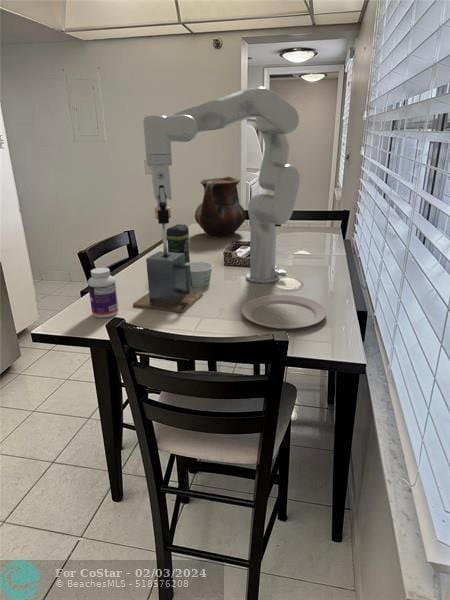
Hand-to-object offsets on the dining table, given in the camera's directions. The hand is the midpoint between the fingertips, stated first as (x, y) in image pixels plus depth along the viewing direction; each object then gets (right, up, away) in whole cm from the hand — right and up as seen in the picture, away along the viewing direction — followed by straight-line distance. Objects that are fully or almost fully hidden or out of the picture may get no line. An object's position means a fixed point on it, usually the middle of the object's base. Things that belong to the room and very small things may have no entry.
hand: (163, 221), depth 133 cm
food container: (+9, -18, +27) cm, 34 cm away
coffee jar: (+1, -13, +41) cm, 43 cm away
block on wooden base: (0, -25, +10) cm, 27 cm away
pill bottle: (-18, -29, 0) cm, 34 cm away
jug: (+17, +11, +100) cm, 102 cm away
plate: (+37, -30, -2) cm, 48 cm away
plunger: (0, -15, +6) cm, 16 cm away
